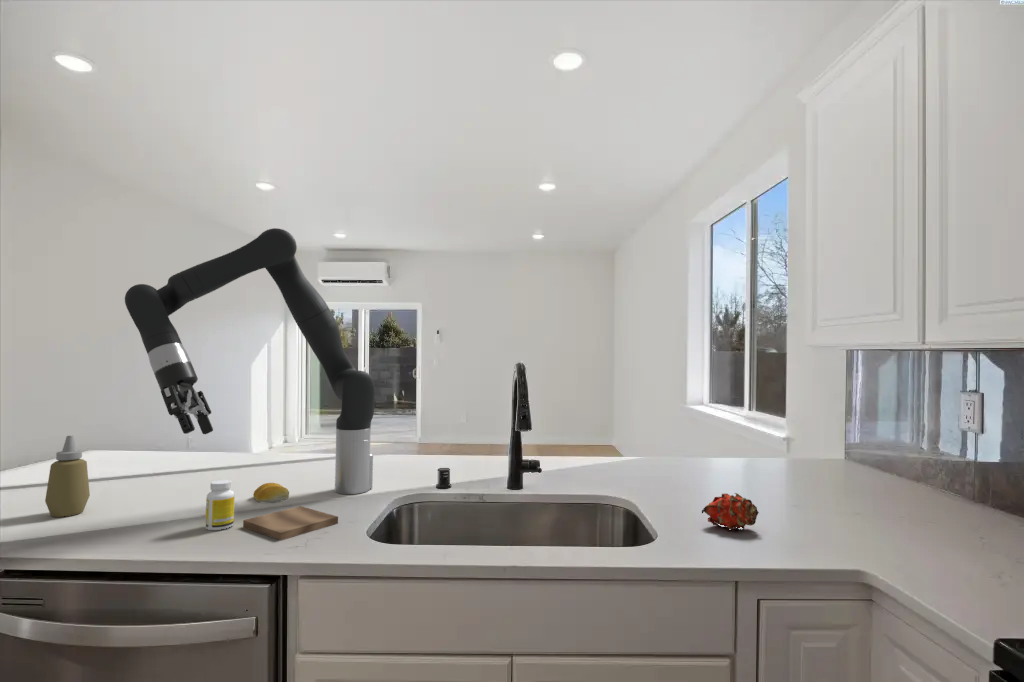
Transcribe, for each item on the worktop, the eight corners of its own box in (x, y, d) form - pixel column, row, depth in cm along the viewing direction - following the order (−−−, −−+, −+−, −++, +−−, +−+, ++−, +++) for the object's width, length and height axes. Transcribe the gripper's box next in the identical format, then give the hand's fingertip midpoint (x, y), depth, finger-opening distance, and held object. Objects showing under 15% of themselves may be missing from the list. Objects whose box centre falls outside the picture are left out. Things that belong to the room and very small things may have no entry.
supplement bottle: (239, 525, 121) (240, 480, 121) (219, 532, 116) (220, 485, 116) (220, 522, 123) (221, 478, 123) (199, 529, 118) (200, 483, 118)
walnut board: (300, 512, 131) (300, 506, 131) (337, 523, 123) (338, 516, 123) (243, 527, 120) (243, 520, 120) (280, 540, 112) (280, 532, 112)
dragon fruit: (763, 540, 120) (706, 542, 124) (755, 508, 127) (701, 511, 131) (762, 514, 116) (702, 517, 119) (754, 483, 123) (697, 487, 126)
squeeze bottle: (96, 511, 129) (99, 435, 130) (56, 521, 122) (59, 439, 122) (77, 507, 133) (79, 432, 133) (36, 516, 125) (39, 436, 126)
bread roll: (260, 505, 137) (260, 489, 137) (250, 498, 144) (250, 483, 144) (294, 500, 142) (294, 484, 143) (282, 493, 149) (283, 478, 149)
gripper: (172, 355, 118) (200, 424, 116) (203, 364, 132) (229, 425, 130) (137, 370, 117) (165, 440, 115) (173, 378, 131) (198, 440, 129)
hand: (199, 432), depth 122 cm, fingers open, 8 cm apart
